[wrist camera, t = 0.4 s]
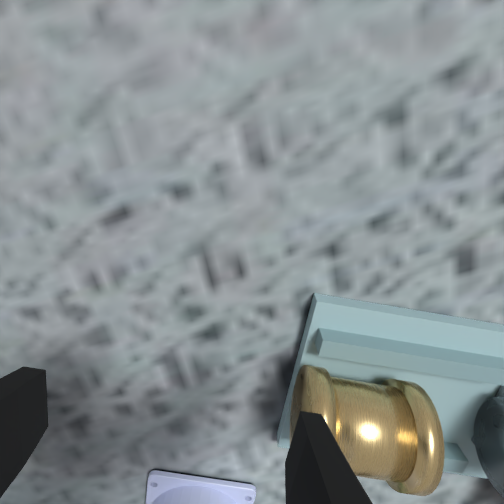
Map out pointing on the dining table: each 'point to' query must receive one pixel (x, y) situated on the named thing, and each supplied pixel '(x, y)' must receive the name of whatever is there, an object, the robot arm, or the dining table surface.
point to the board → (408, 363)
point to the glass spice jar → (491, 439)
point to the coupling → (377, 427)
